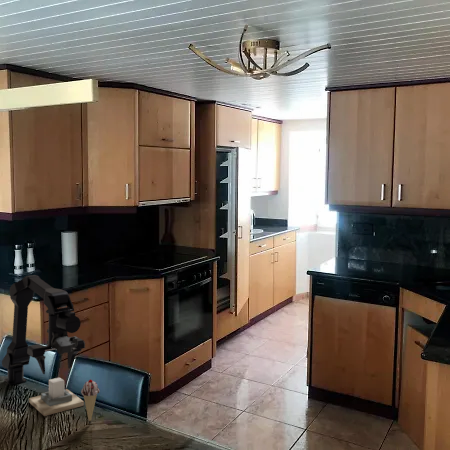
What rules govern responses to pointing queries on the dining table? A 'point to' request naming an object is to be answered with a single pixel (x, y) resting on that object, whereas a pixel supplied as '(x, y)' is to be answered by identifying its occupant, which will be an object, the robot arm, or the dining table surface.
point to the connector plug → (56, 388)
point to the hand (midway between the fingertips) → (56, 371)
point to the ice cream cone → (90, 396)
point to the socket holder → (55, 402)
